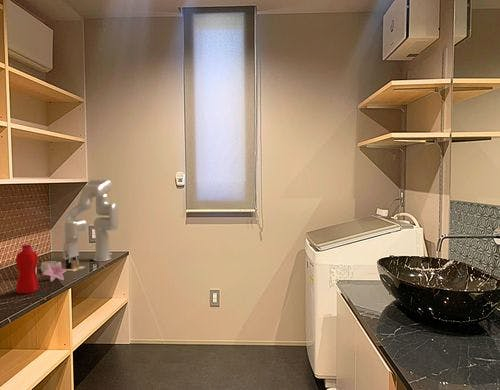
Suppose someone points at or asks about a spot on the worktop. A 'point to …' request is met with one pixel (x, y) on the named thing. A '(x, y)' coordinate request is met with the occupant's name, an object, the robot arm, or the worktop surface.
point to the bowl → (45, 265)
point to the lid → (73, 265)
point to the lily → (55, 271)
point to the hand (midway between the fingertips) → (71, 267)
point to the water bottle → (27, 270)
